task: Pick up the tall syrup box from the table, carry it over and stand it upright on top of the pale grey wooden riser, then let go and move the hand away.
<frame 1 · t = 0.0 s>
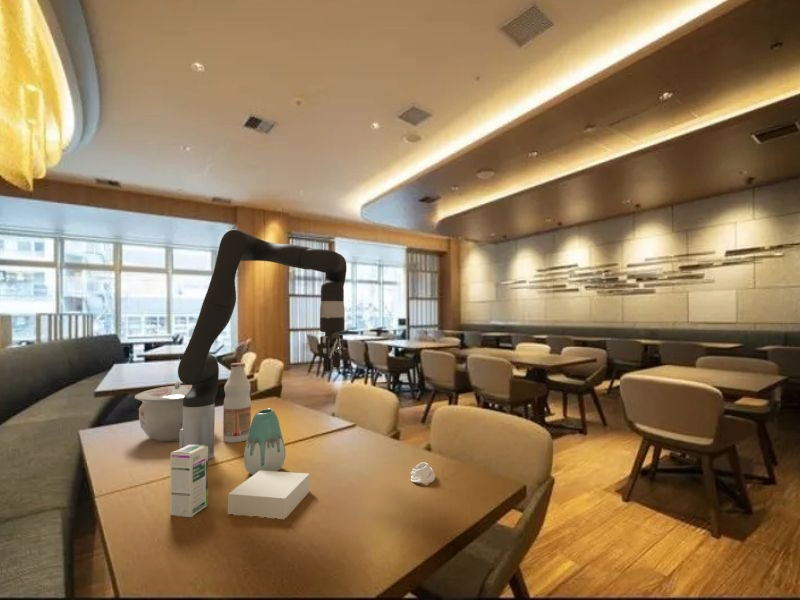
hand: (332, 369, 120), 29 cm above the table, fingers open, 8 cm apart
riser: (271, 503, 96), on the table
vase: (264, 472, 115), on the table
syrup box: (189, 511, 92), on the table
whipped cream: (422, 481, 109), on the table
fruit juice: (236, 439, 146), on the table
chamber pot: (177, 436, 150), on the table
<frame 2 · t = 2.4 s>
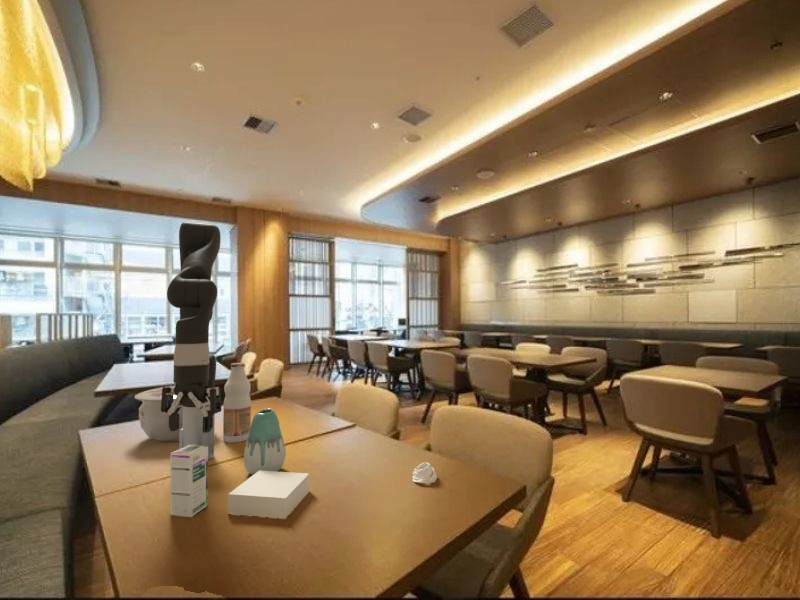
hand: (190, 431, 93), 18 cm above the table, fingers open, 8 cm apart
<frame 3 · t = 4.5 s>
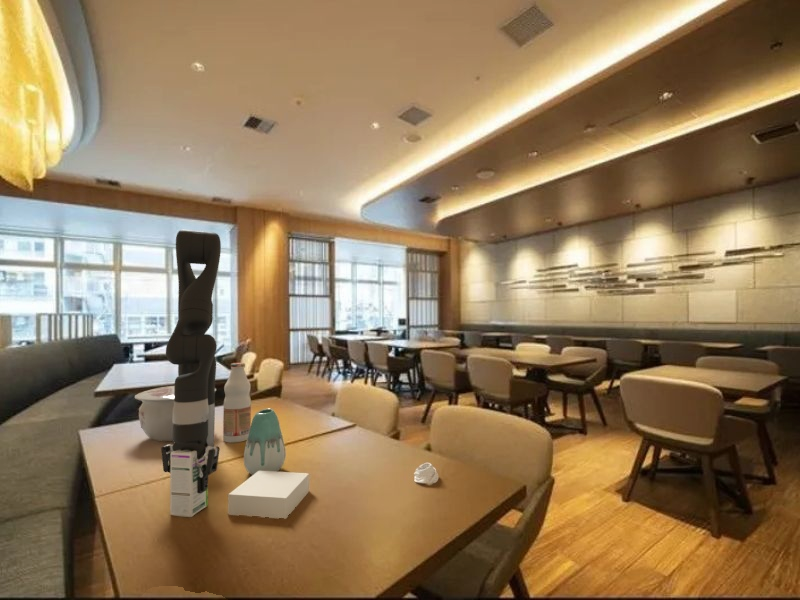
hand: (189, 490, 92), 5 cm above the table, fingers closed on syrup box, 6 cm apart
syrup box: (189, 511, 92), on the table, touching gripper
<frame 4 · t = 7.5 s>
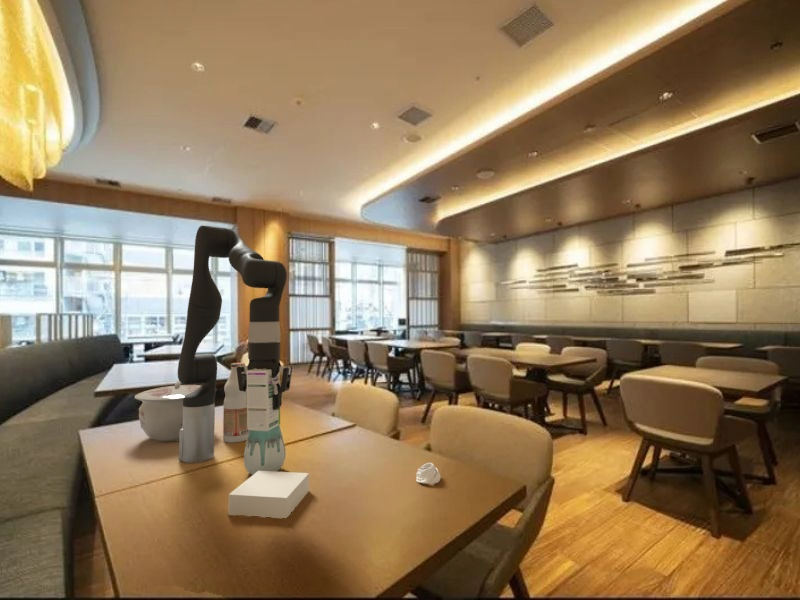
hand: (264, 408, 96), 23 cm above the table, fingers closed on syrup box, 6 cm apart
syrup box: (263, 428, 96), point 18 cm above the table, touching gripper
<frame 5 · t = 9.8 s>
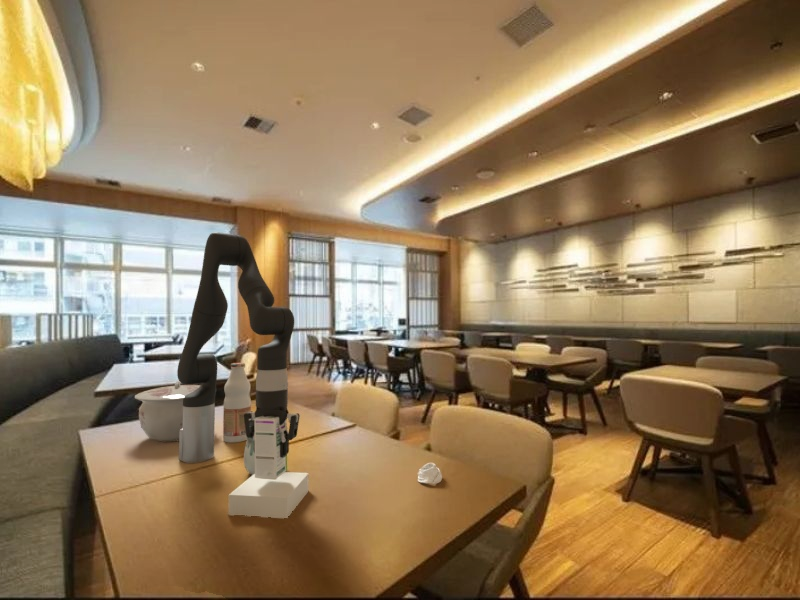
hand: (271, 455, 97), 11 cm above the table, fingers closed on syrup box, 6 cm apart
syrup box: (270, 475, 96), point 6 cm above the table, touching gripper
when the fingers open (11 cm above the table, at t = 10.8 s): syrup box drops 2 cm, resting on riser.
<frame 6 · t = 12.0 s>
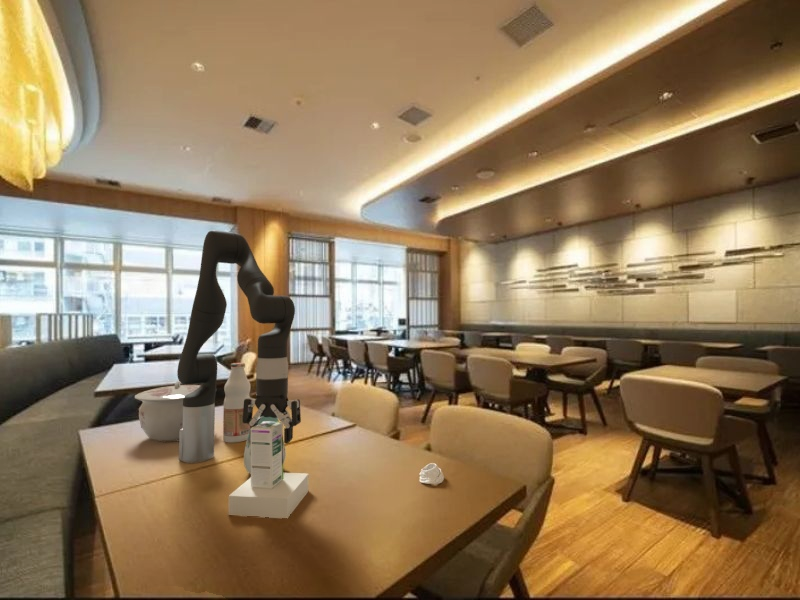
hand: (271, 441, 97), 15 cm above the table, fingers open, 8 cm apart
riser: (271, 504, 96), on the table, touching syrup box
syrup box: (267, 484, 96), point 4 cm above the table, touching riser
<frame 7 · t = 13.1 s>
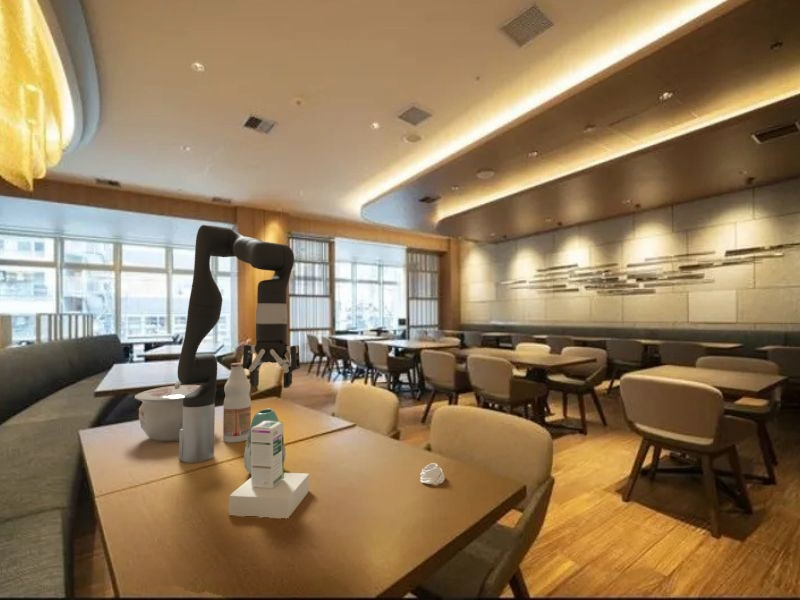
hand: (270, 386, 98), 28 cm above the table, fingers open, 8 cm apart
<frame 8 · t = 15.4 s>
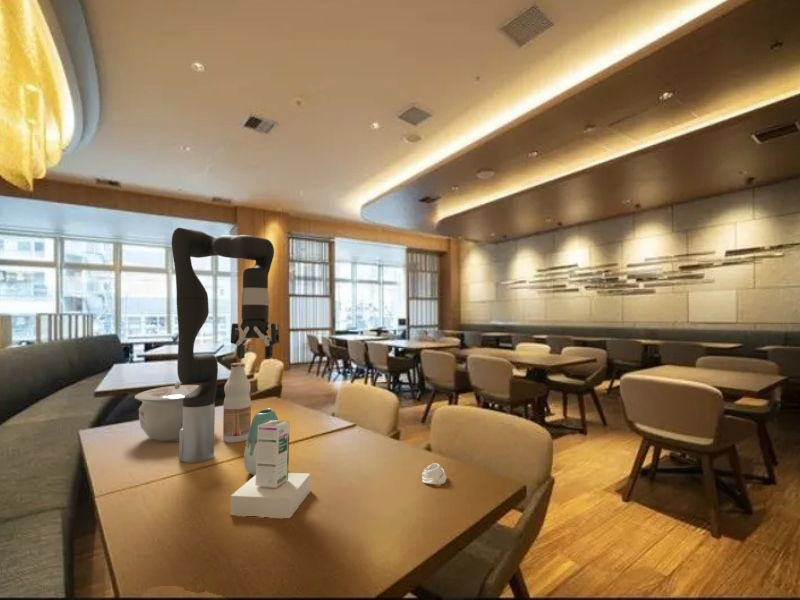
hand: (254, 358, 116), 33 cm above the table, fingers open, 8 cm apart
riser: (273, 504, 96), on the table
syrup box: (271, 483, 96), point 4 cm above the table
at the end: syrup box inside the target area on the riser (0.3 cm from its centre), point 5.0 cm above the riser's base; syrup box tilted 3°; the gripper is holding nothing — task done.
